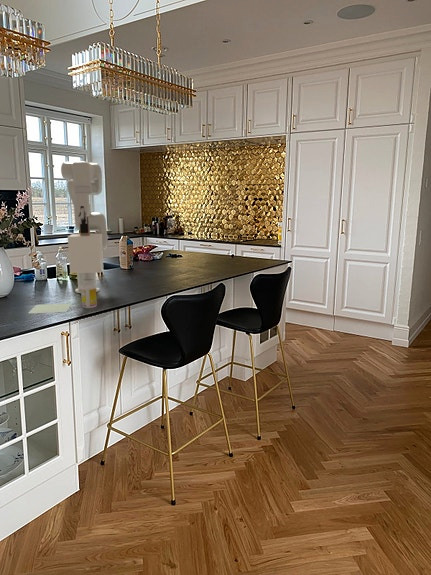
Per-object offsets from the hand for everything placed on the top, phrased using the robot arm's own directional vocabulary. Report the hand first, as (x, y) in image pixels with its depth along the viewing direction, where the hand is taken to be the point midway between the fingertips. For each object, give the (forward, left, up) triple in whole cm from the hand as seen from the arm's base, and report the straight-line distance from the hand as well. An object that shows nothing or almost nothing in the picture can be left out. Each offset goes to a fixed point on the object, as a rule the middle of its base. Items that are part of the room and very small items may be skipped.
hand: (85, 232), depth 197 cm
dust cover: (0, 0, -17) cm, 17 cm away
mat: (+1, -17, -34) cm, 38 cm away
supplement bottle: (0, 0, -35) cm, 35 cm away
